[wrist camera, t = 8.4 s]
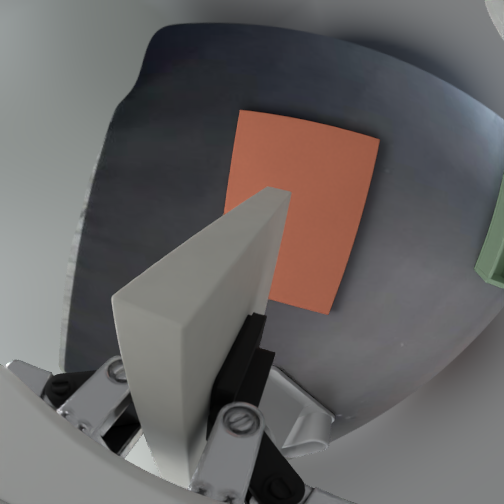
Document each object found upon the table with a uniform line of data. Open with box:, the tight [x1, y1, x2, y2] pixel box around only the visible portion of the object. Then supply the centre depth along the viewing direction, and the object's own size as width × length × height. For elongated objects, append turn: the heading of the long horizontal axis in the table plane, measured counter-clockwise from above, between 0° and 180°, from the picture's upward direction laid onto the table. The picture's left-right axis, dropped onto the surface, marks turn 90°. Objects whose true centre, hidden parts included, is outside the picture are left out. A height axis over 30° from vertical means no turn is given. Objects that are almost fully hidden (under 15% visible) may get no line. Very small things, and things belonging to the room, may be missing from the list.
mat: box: [224, 110, 380, 315], centre depth 28 cm, size 20×14×1 cm
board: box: [111, 187, 291, 489], centre depth 11 cm, size 10×1×12 cm, turn 171°
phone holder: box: [258, 366, 335, 457], centre depth 31 cm, size 17×10×18 cm, turn 46°
